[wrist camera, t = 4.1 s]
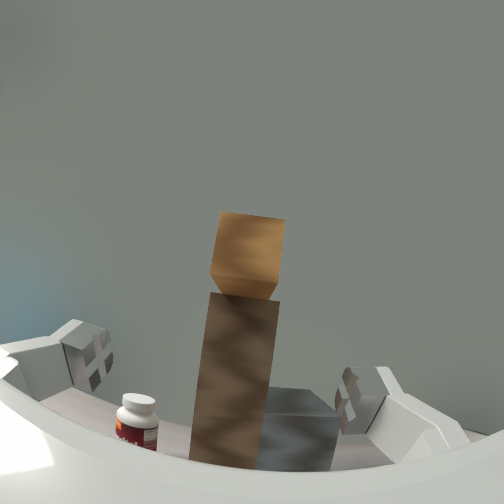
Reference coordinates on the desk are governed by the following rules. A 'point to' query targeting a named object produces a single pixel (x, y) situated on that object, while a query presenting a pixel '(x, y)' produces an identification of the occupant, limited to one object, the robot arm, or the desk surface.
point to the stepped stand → (254, 397)
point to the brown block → (247, 255)
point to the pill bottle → (137, 421)
